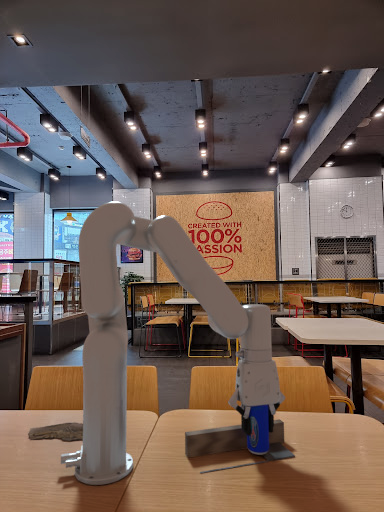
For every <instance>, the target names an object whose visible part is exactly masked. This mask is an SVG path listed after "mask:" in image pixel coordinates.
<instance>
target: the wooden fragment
mask: <svg viewBox="0 0 384 512" xmlns="http://www.w3.org/2000/svg"><path fill="white" fill-rule="evenodd" d="M27 435H28V438H29V439H30V441H33V440H38V439H39V440H40V439H42V440H44V439H46V440H47V439H48V440H49V439H51V440H53V439H56V440H57V439H58V440H59V439H60V440H62V441H69V442H70V441H83V422H80V423H79V422H76V421H74V422H64V423H63V422H62V423H58V424H52V425H45V426H39V427H38V426H37V427H31V428H30V429H29V431H28V433H27Z"/></svg>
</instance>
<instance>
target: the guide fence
mask: <svg viewBox="0 0 384 512" xmlns="http://www.w3.org/2000/svg"><path fill="white" fill-rule="evenodd" d="M184 442H185V443H184V453H185V456H186V457H187V458H194V457H200V456H201V457H202V456H207V455H213V454H219V453H225V452H226V453H227V452H233V451H237V450H238V451H239V450H244V449H248V448H247V434H246V433H245V432H244V431H243V430H242V427H241V424H235V425H228V426H220V427H214V428H205V429H198V430H191V431H184ZM283 443H285V422H284V421H283V420H282V419H274V427H273V432H269V450H268V452H267V453H266V454H263V455H262V456H263V457H264V458H265V459H266V460H262V461H256V462H251V463H245V464H238V465H233V466H226V467H221V468H216V469H215V468H214V469H209V470H205V471H203V470H202V471H200V472H199V473H200V474H205V473H211V472H215V471H216V472H217V471H223V470H228V469H234V468H238V467H244V466H251V465H256V464H264V463H268V462H273V461H274V462H275V461H280V460H284V459H289V458H295V457H296V455H295V454H294V453H293V452H292V451H290V449H288V448H287V447H286V446H285V445H284V444H283Z"/></svg>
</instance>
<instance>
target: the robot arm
mask: <svg viewBox="0 0 384 512" xmlns="http://www.w3.org/2000/svg"><path fill="white" fill-rule="evenodd" d="M117 245H120V246H124V247H129V248H133V249H138V250H142V251H147V252H153V253H157V254H158V256H159V257H160V259H161V260H162V261H163V263H164V264H165V266H166V268H167V269H168V270H169V272H170V273H171V275H172V276H173V277H174V278H175V280H176V281H177V283H178V284H179V285H180V286H181V287H182V288H183V289H184V290H185V291H187V292H188V293H189V294H190V295H191V296H192V297H193V298H194V299H195V301H197V302H198V303H199V304H200V306H201V307H202V309H203V310H204V311H205V312H206V314H207V323H208V325H209V327H210V329H212V330H213V331H214V332H215V333H217V334H219V335H221V336H223V337H224V338H226V339H229V340H235V339H239V338H240V347H239V350H238V351H235V356H236V358H240V359H239V360H238V361H237V368H236V374H235V390H234V391H233V394H232V395H231V397H229V399H228V401H227V402H228V403H227V404H229V406H231V408H233V409H234V410H235V411H236V412H238V414H239V415H241V417H240V418H241V421H240V422H241V423H240V425H241V427H242V430H243V431H244V432H245V433H246V434H247V435H248V436H250V435H251V419H250V418H249V412H250V408H251V407H254V406H260V405H268V423H269V432H273V427H274V420H275V415H276V414H277V411H278V409H279V407H280V406H281V404H282V403H283V402H284V401H285V400H286V396H285V395H284V394H283V392H282V391H281V389H280V379H279V373H278V367H277V363H276V360H274V359H273V356H272V355H273V351H272V350H273V349H272V321H271V320H272V316H271V308H270V307H269V306H268V305H266V304H261V303H260V304H258V303H256V304H255V303H250V304H249V303H248V304H243V305H242V304H241V303H240V301H239V300H238V299H237V297H236V295H235V294H234V292H232V290H231V289H230V287H229V286H228V285H227V284H226V282H225V281H224V280H223V279H222V278H221V277H220V276H219V275H218V274H217V272H216V271H215V270H214V268H212V266H210V264H209V263H208V262H207V261H206V259H205V258H204V257H203V254H201V252H200V251H199V250H198V248H197V246H196V245H195V244H194V242H193V241H192V240H191V238H190V236H189V235H188V234H187V232H186V231H185V229H184V227H182V225H181V224H180V223H179V221H178V220H177V219H175V218H174V217H173V216H170V215H160V216H157V217H156V218H154V219H149V218H144V217H140V216H137V215H136V216H135V214H134V212H133V211H132V209H131V207H129V206H128V205H127V204H125V203H123V202H121V201H109V202H105V203H104V204H102V205H99V206H98V207H96V208H95V209H94V210H92V212H90V214H89V215H87V217H86V219H85V220H84V221H83V223H82V226H81V230H80V232H79V236H78V258H79V259H78V261H79V278H80V279H79V280H80V281H79V282H80V291H81V292H80V295H81V299H80V300H81V306H82V310H83V311H84V313H85V314H86V315H87V319H88V329H89V333H88V335H87V336H86V338H85V340H84V343H83V345H82V347H83V348H82V353H81V354H82V355H81V356H82V376H83V380H82V381H83V385H82V386H83V395H82V399H83V400H82V402H83V405H82V407H83V408H82V424H83V440H82V444H81V447H80V449H79V450H76V452H72V453H71V452H66V453H61V454H60V464H61V465H65V468H66V469H67V468H72V467H74V476H75V478H76V479H77V480H78V481H79V482H81V483H83V484H85V485H91V486H98V485H99V486H100V485H107V484H112V483H115V482H118V481H120V480H122V479H124V478H125V477H126V476H128V475H129V474H130V473H131V472H132V470H133V467H134V459H133V457H132V455H131V454H129V453H127V410H128V409H127V408H128V407H127V405H128V404H127V402H128V401H127V398H128V397H127V396H128V395H127V389H128V387H127V385H128V381H127V379H128V375H127V372H128V368H127V367H128V366H127V365H128V346H129V345H128V344H129V334H128V325H127V323H128V322H127V314H126V303H125V294H124V291H123V288H122V287H121V285H120V279H119V271H118V257H117ZM238 401H239V402H240V405H239V404H238Z"/></svg>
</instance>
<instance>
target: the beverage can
mask: <svg viewBox="0 0 384 512" xmlns="http://www.w3.org/2000/svg"><path fill="white" fill-rule="evenodd" d="M249 418H250V419H251V435H250V436H248V435H247V448H246V449H248V451H249V452H250V453H251V454H253V455H259V456H260V455H261V456H263V454H266V453H267V452H268V450H269V423H268V405H260V406H254V407H251V408H250V412H249Z"/></svg>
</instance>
